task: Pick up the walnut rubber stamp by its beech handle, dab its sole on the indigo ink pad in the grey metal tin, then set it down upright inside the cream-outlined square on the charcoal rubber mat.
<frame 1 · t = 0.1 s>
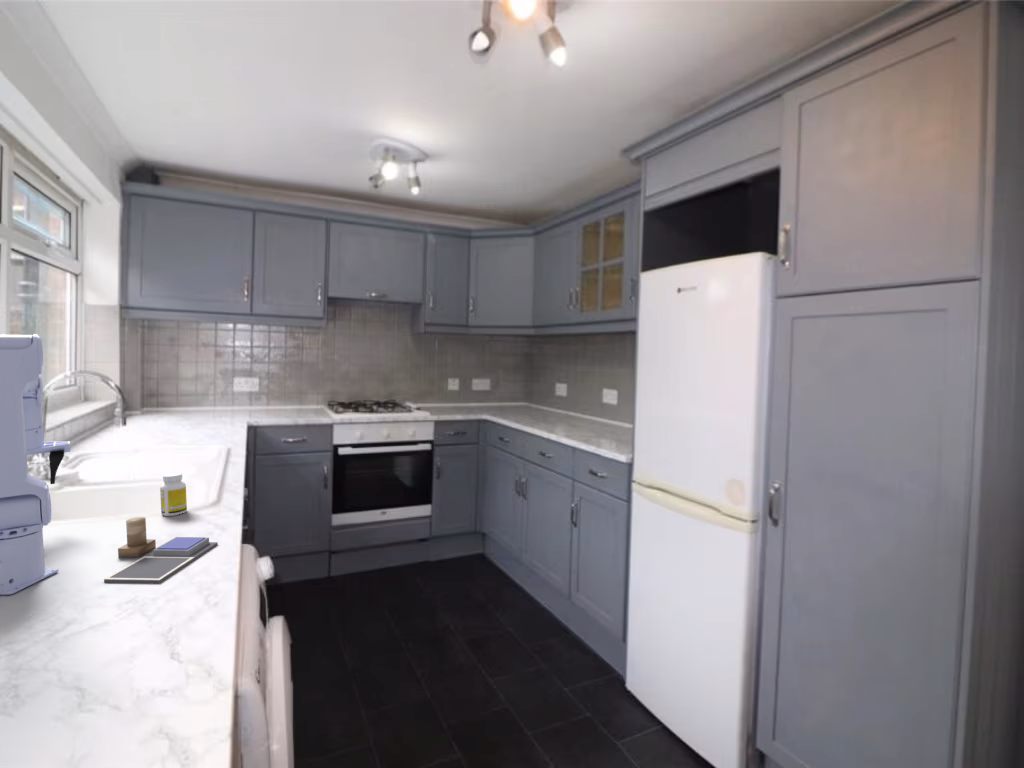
hand: (30, 485, 119), 11 cm above the countertop, tool pointing down, fingers open, 7 cm apart
supplement bottle: (174, 513, 133), on the countertop
stamp mat: (165, 561, 104), on the countertop
stamp: (137, 553, 108), on the countertop
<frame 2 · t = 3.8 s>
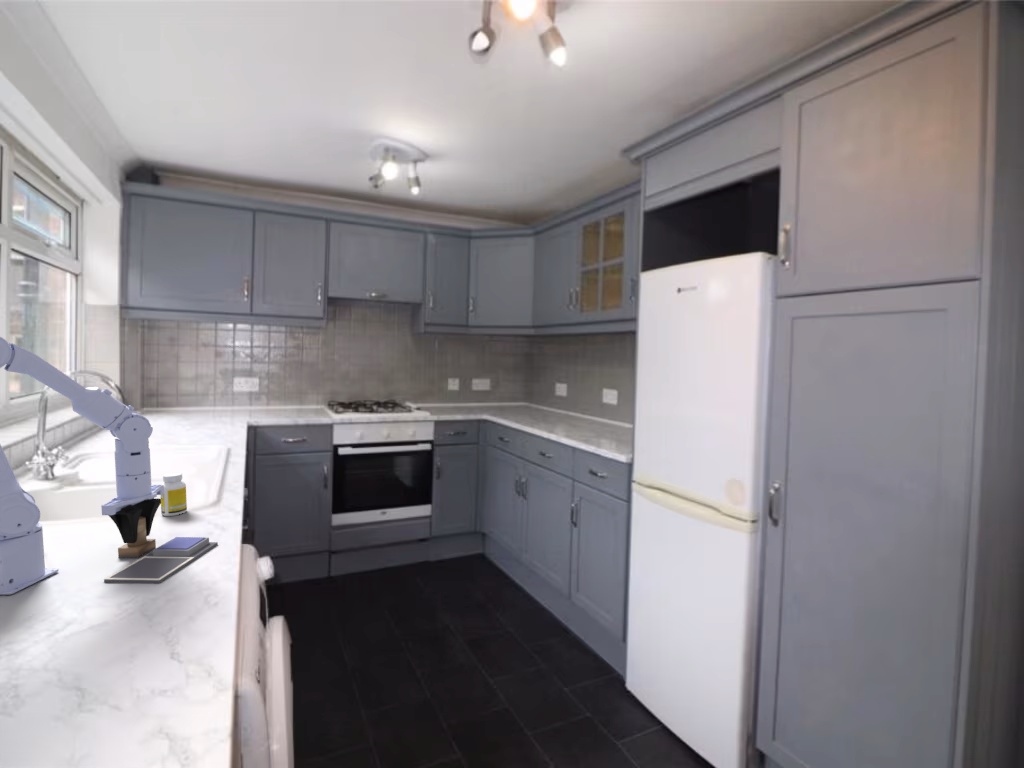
hand: (136, 539, 107), 3 cm above the countertop, tool pointing down, fingers closed on stamp, 3 cm apart
stamp: (137, 553, 108), on the countertop, touching gripper
everything else where it was.
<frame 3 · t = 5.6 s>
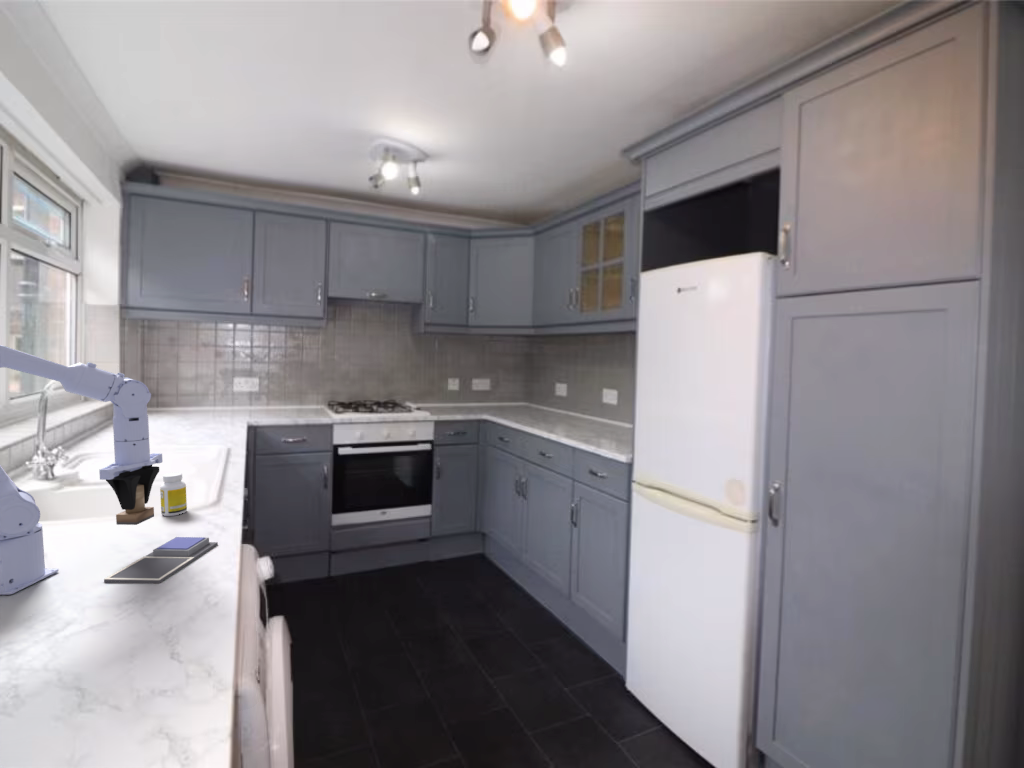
hand: (135, 506, 107), 10 cm above the countertop, tool pointing down, fingers closed on stamp, 3 cm apart
stamp: (135, 520, 107), point 7 cm above the countertop, touching gripper
everything else where it was.
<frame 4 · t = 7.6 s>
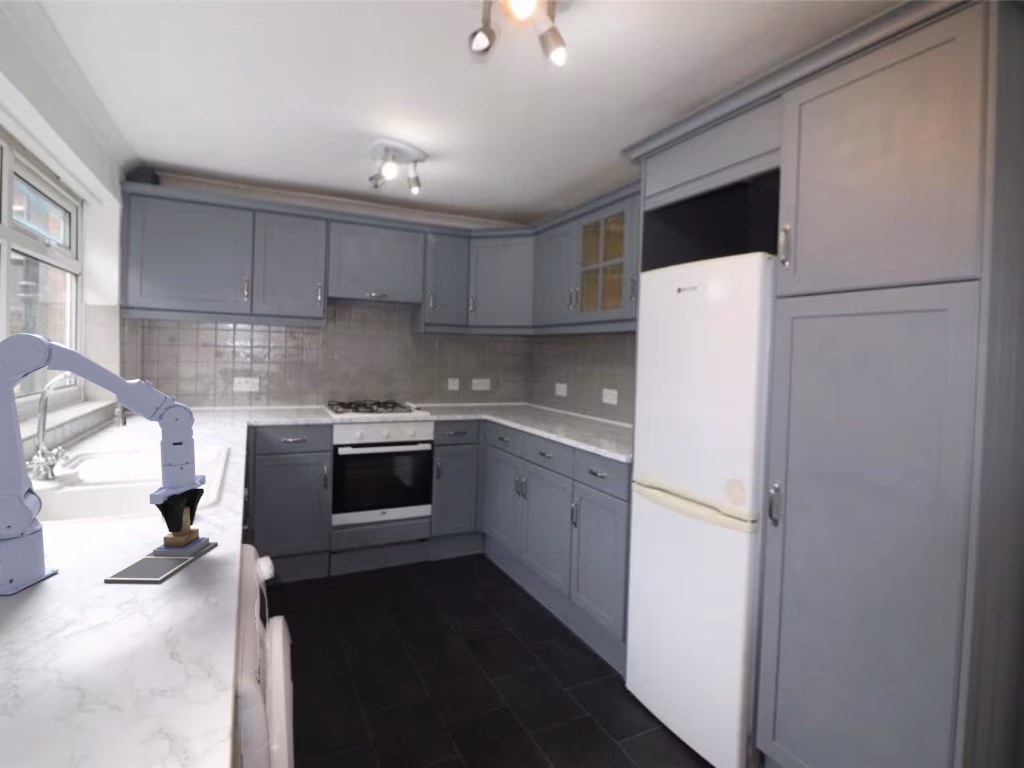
hand: (181, 528, 108), 5 cm above the countertop, tool pointing down, fingers closed on stamp, 3 cm apart
stamp: (181, 542, 108), point 2 cm above the countertop, touching gripper
everything else where it was.
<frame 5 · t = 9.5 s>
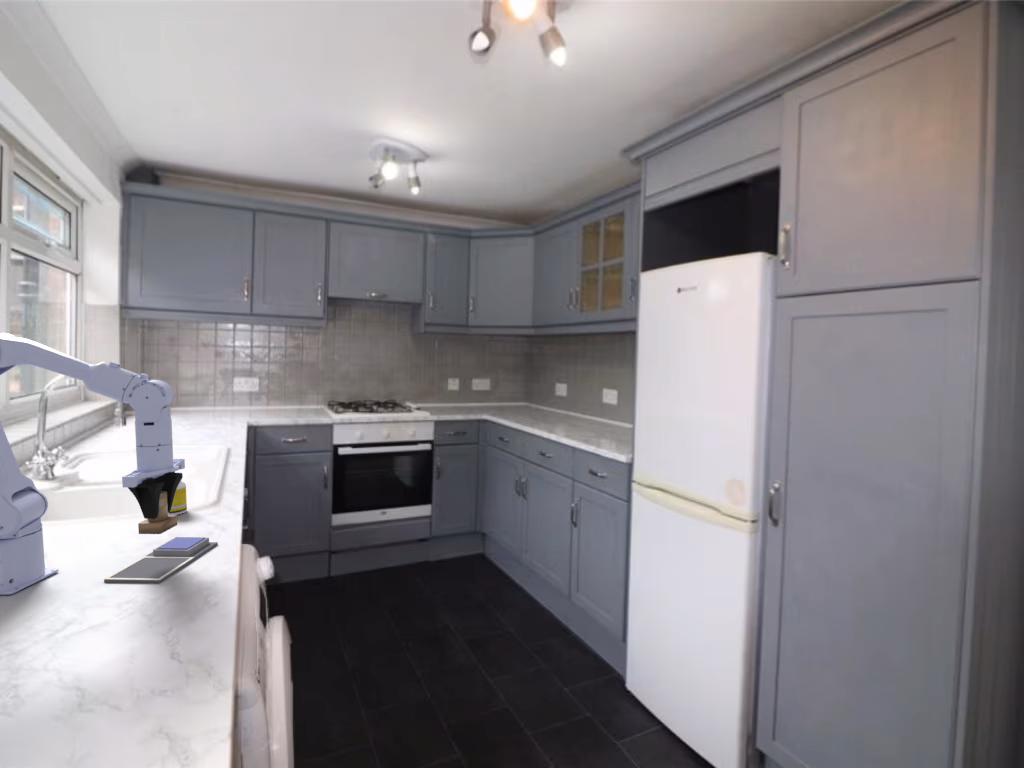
hand: (157, 514, 101), 10 cm above the countertop, tool pointing down, fingers closed on stamp, 3 cm apart
stamp: (158, 529, 101), point 7 cm above the countertop, touching gripper
everything else where it was.
when the fingers open (4 cm above the countertop, at t = 11.4 s): stamp drops 1 cm, resting on stamp mat.
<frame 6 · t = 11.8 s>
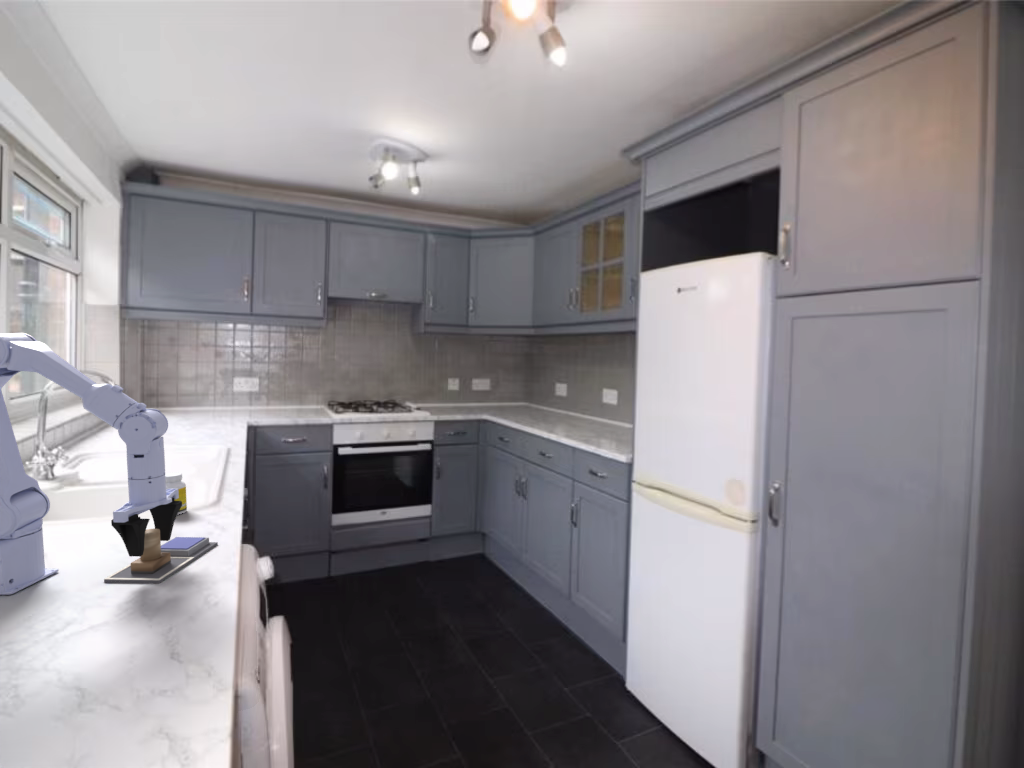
hand: (150, 547, 99), 4 cm above the countertop, tool pointing down, fingers open, 7 cm apart
stamp: (151, 568, 100), resting on stamp mat
everything else where it was.
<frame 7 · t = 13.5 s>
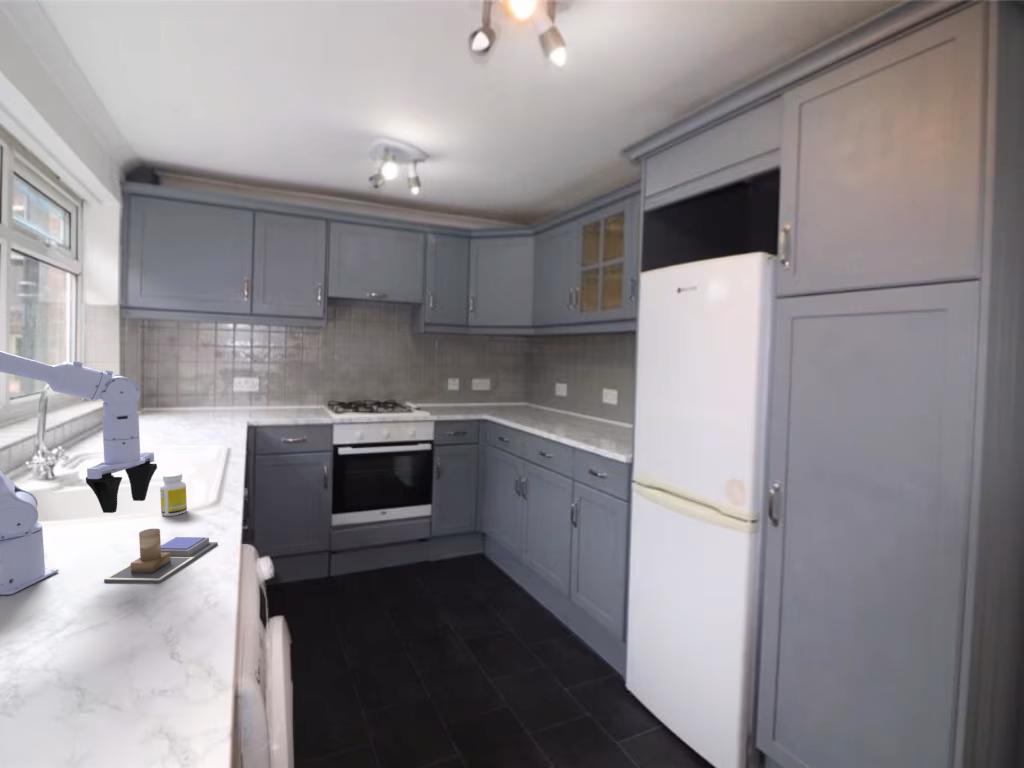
hand: (124, 506, 105), 10 cm above the countertop, tool pointing down, fingers open, 7 cm apart
nothing on the countertop moved.
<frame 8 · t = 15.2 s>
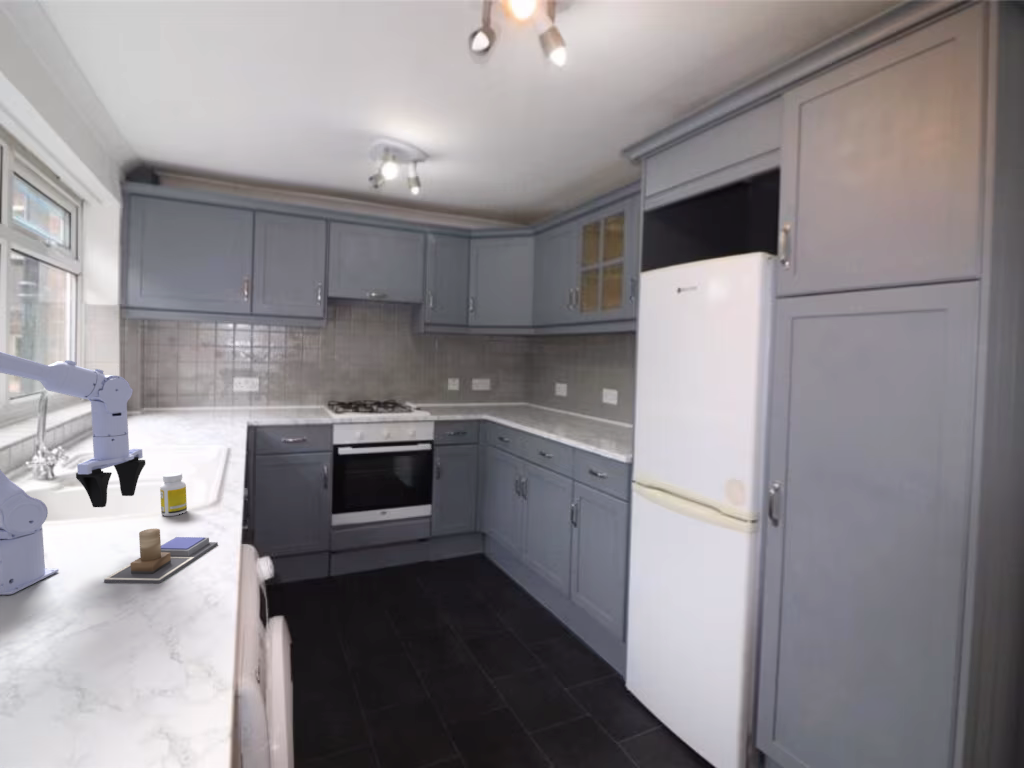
hand: (114, 500, 108), 10 cm above the countertop, tool pointing down, fingers open, 7 cm apart
nothing on the countertop moved.
at the end: stamp 0.0 cm from the target spot on the stamp mat, point 0.5 cm above the stamp mat's base; stamp tilted 0°; the gripper is holding nothing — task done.
